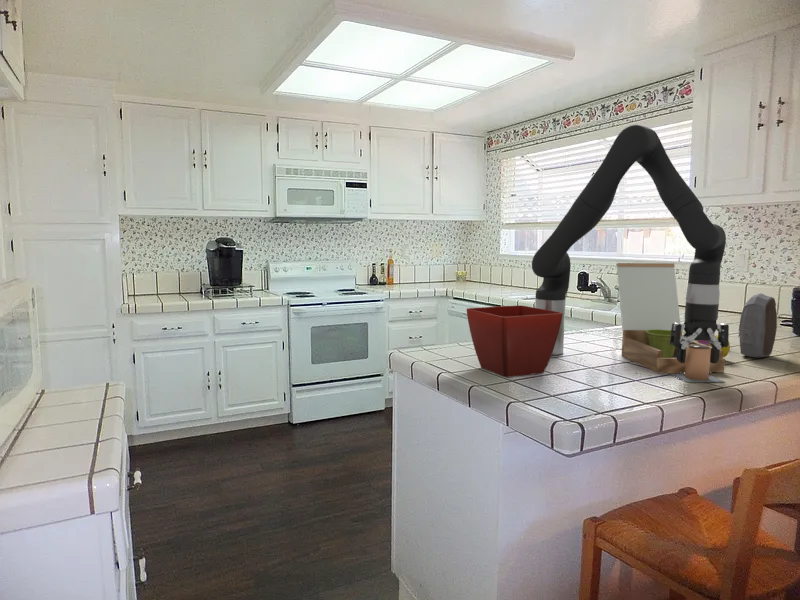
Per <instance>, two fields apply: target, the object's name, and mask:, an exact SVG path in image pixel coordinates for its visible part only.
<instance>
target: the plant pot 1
mask: <svg viewBox="0 0 800 600" xmlns="http://www.w3.org/2000/svg"><path fill="white" fill-rule="evenodd" d="M562 314H563V313H561V312H556V311H550V310H545V309H539V308H535V307H533V306H527V305H518V304H517V305H503V306H502V305H500V306H499V305H498V306H485V307H484V306H483V307H469V308H468V307H467V308H466V316H467V321H468V328H469V332H470V336H471V339H472V344H473V348H474V351H475V354H476V357H477V360H478V363H479V365H480V367H481V369H484V370H486V371H489V372H492V373H494V374H496V375H498V376H501V377H504V378H512V377H521V376H531V375H537V374H544V372H545V370H546V368H547V366H548V364H549V361H550V360H551V356H552V352H553V349H554V346H555V343H556V340H557V337H558V333H559V329H560V324H561V320H562Z"/></svg>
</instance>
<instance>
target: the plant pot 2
mask: <svg viewBox="0 0 800 600" xmlns="http://www.w3.org/2000/svg"><path fill="white" fill-rule="evenodd" d="M646 333H647V335H648V338H649V346H651V347H654V348H656V349H659V350H661V351H662V356H661V358H674V357H675V356H674V352H675V346H673V345H670V337H671V331H670V330H647V331H646Z"/></svg>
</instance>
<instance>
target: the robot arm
mask: <svg viewBox="0 0 800 600" xmlns="http://www.w3.org/2000/svg"><path fill="white" fill-rule="evenodd" d="M635 162H636V163H637V164H639V165H640V166H641V167H642V168H643V170H645V171H646V172H647V173H648V175H649V176H650V178H651V180H652V181H653V183H654V185H655V187H656V190H657V193H658V196H660V199H661V201H662V202H663V204H664V206H665V207H666V210H668V211H669V213H670V214H671V216H672V217H673V219H675V220H676V222H677V224H678V226H679V228H680V230H681V233H682V234H683V236H684V237H685V240H686V241H687V243H688V244H689V245H690V246H691V248H693V249H694V250H695V251H694V258H693V261H692V262H691V263H690V266H689V271H688V282H687V287H686V294H685V306H684V307H685V308H684V317H685V322H684V321H683V323H680V324H678V323H673V324H672V329H671V337H670V345H673V346H675V347H677V356H675V358H677V360H678V362H680V363H685V357H686V349H685V348H686V347H687V346H688V345H689V344H690V343H692V341H693V340H696V341H699V340H704V341H708V342H709V344H710V345H711V347H712V348H711V356H710V362H711V363H717V361H718V360H719V353H720V349H721V348H723V347H727V346H728V341H729V338H730V336H729V334H730V333H729V331H730V329H729V328H730V327H729V324H727V323H723V322H719V323H717V320H718V318H719V306H720V297H721V296H720V293H721V292H720V283H721V282H720V280H721V279H720V278H721V265H722V261H723V257H724V253H725V248H726V242H727V237H726V232H725V230H724V229H723V227H722V226H720V225H718V224H716V223H713V222H712V221H711V220H710V218H709V217H708V215H707V214H706V213H705V211H704V206H703V204H702V202H701V201H700V200H699V198H698V197H697V196H696V195H695V193H694V192H693V191H692V189H691V188H690V186H689V185H688V183H686V181H685V180H684V178H683V177H682V175H681V174H680V173H679V172H678V170H677V169H676V167H675V166H674V164H673V163H672V161H671V160H670V157H669V155H668V154H667V151H666V149H665V148H664V145H663V144H662V142H661V138H660V137H659V136H658V133H657V132H656V131H655V130H654V129H652V128H651V127H648V126H644V125H640V124H631V125H629V126H625V128H623V129H622V130H621V131H620V132H619V134H618V135H617V136H616V138H615V140H614V141H613V143H612V145H611V147H610V148H609V150H608V152H607V154H606V155H605V157H604V158H603V160H602V163H601V164H600V166H599V167H598V168H597V170H596V172H595V173H594V174H593V175H592V177H591V178H590V180H588V182H587V184H586V185H585V187H584V188H583V189H582V190H581V192H580V193H579V194H578V196H577V198H576V199H575V201H574V202H573V203H572V205H570V206H571V207H570V208H569V209H568V211H567V212H566V214H565V215H564V217H563V218H562V219H561V221H560V222H559V224H558V225H557V226H556V228H555V230H554V231H553V232H552V233H551V235H549V237H548V238H547V239H546V240H545V242H544V243H543V244H542V245H541V246H540V247H539V249H537V251H536V252H535V254H534V255H533V257H532V261H531V269H532V271H533V274H534V275H535V276H537V277H539V278H543V279H542V283H541V285H540V286H538V288H536V290H535V302H534V303H535V304H534V305H535V306H534V308H539V309H545V310H550V311H556V312H561V313H563V314H562V320H561V324H560V329H559V333H558V337H557V340H556V343H555V346H554V349H553V352H552V355H555V356H556V355H557V356H559V355H563V353H564V343H565V342H564V340H565V317H566V301H567V299H566V297H567V293H568V291H569V288H570V287H569V286H570V279H571V278H570V277H571V257H570V256H569V253H568V251H569V250H570V249H571V247H573V245H575V243H577V242H578V241H579V240H581V239H582V238H583V237H585V236H586V235H587V234H588V233H589V232H591V231H592V230H593V229H594V228H595V227H596V226H598V224H599V222H601V221H602V219H603V218H604V216H605V215H606V214H607V212H608V211H609V209H610V208H611V206H612V204H613V202H614V199H615V196H616V193H617V190H618V187H619V184H620V183H621V181H622V179H623V178H624V176H625V174H627V172H628V171H629V169H630V168H631V167H632V166H633V165H634V163H635ZM636 163H635V164H636ZM683 329H684V330H685V333H684V334H683V333H682V336H681V339H680V335H681V332H682V331H683ZM716 331H717V335H718V339H717V338H716V334H715V333H714V332H716ZM688 336H689V337H688ZM552 355H551V356H552Z"/></svg>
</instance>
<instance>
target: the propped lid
mask: <svg viewBox="0 0 800 600" xmlns="http://www.w3.org/2000/svg"><path fill="white" fill-rule="evenodd" d="M675 266H676V265H675V263H674V262H673V263H669V262H668V263H660V262H659V263H657V262H656V263H655V262H653V263H652V262H651V263H650V262H649V263H647V262H646V263H644V262H642V263H641V262H638V263H637V262H635V263H634V262H632V263H631V262H617V263H616V266H615V267H616V271H617V272H616V273H617V284H618V295H619V305H620V308H619V309H620V318H621V329H622V332H623V330H671V329H672V324H673V323H678V324H681V317H680V315H681V314H680V308H679V298H678V290H677V280H676V271H675Z"/></svg>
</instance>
